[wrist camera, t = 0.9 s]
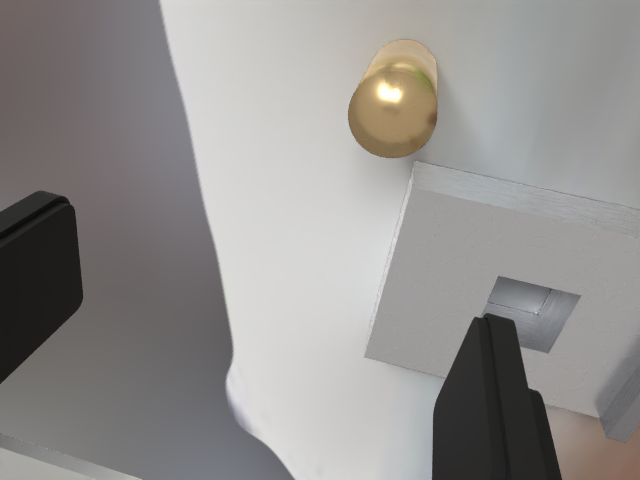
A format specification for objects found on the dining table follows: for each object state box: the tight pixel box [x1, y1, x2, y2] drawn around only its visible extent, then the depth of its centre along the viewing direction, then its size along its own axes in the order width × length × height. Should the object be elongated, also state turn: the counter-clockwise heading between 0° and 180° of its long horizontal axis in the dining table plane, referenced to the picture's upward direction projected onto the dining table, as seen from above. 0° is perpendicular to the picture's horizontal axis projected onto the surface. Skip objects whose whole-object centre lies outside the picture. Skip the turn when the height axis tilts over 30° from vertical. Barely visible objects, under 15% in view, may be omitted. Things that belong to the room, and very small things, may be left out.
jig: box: [364, 161, 640, 442], centre depth 32 cm, size 14×18×6 cm
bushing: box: [348, 39, 437, 158], centre depth 26 cm, size 4×4×8 cm
